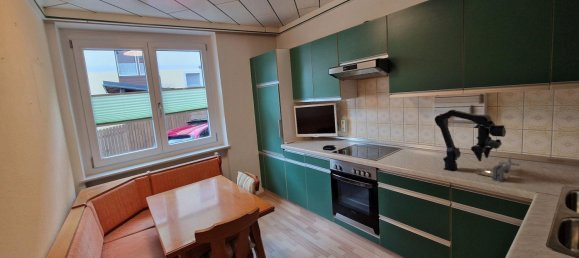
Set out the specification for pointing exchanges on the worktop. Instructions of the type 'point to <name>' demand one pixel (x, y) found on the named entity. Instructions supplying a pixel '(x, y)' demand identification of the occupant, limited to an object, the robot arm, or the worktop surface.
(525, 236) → the worktop surface
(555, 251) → the worktop surface
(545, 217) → the worktop surface
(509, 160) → the pipe connector
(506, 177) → the tube
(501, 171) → the firebox collars
